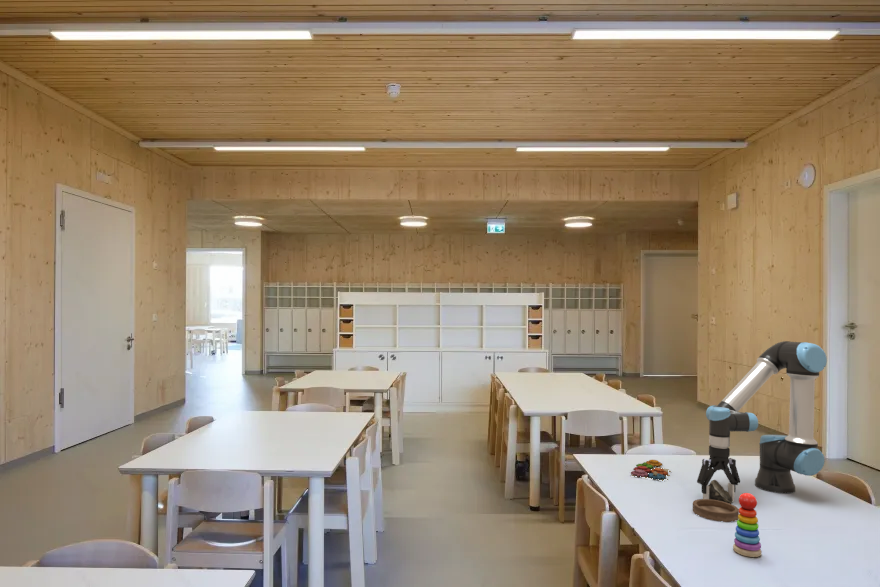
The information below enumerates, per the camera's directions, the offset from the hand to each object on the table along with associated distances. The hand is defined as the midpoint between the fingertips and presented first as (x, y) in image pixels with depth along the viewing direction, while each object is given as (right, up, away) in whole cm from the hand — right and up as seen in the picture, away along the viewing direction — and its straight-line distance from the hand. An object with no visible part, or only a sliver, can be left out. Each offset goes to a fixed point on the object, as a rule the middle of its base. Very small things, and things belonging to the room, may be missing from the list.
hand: (718, 501), depth 226 cm
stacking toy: (-15, +1, -48) cm, 51 cm away
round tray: (-8, 0, -14) cm, 17 cm away
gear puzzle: (-11, -2, +41) cm, 43 cm away
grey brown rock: (0, -1, 0) cm, 1 cm away
